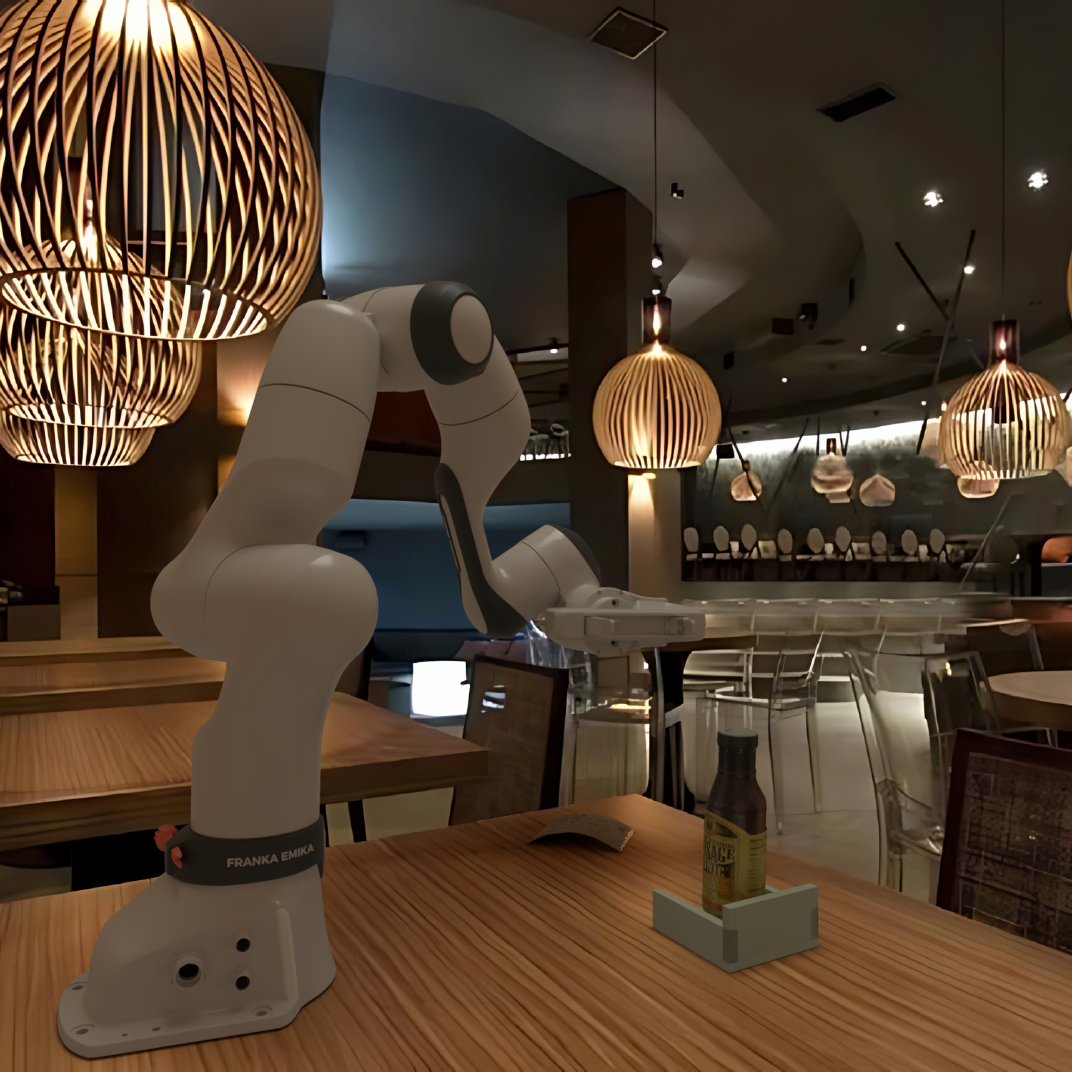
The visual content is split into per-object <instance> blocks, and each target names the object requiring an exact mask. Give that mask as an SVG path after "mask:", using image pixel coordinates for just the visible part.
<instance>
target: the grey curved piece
mask: <svg viewBox="0 0 1072 1072" xmlns="http://www.w3.org/2000/svg"><path fill="white" fill-rule="evenodd" d="M631 828H632V827H630V826H629V825H627V824H626V823H624V822H622V821H620V820H618V819H614V818H612V817H607V816H604V815H599V814H594V813H578V814H577V813H575V814H569V815H565V816H562V817H560V818H558V819H556V820H554V821H552V822H550V823H549V824H547V825H546V827H545V826H544V828H543V829H541V831H540V832H539V833H538V834H537V835H536V836H535V837H533V838H532V840H530V841H529V842H527V843H526V844H527V845H529V844H530V843H532V842H533V841H535V840H537V839H542V838H544V837H545V836H547V835H553V834H554V835H555V834H562V833H576V834H581V835H586V836H588V837H591V838H594V839H596V840H599V841H600V842H602V843H604V844H606V845H608V846H609V847H611V848H614V850H617V851H618V852H619V853H621V852H620V850H621V848H620V847H622V846H621V845H623V842H624V841H625V840H626V839H625V837H627V835H628V832H630V830H632V829H633V828H632V829H631Z"/></svg>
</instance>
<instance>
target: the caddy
mask: <svg viewBox="0 0 1072 1072" xmlns="http://www.w3.org/2000/svg"><path fill="white" fill-rule="evenodd" d="M652 928H653V929H654V930H657V931H658V932H659V933H662V934H663V935H665V936H666V937H668V938H669V939H671V940H673V941H675V942H677V943H679V944H680V945H682V946H683V947H686V948H687V949H689V950H690V951H692V952H693V953H695V954H697V955H699V956H700V957H702V958H703V959H705V960H706V961H709V962H711V963H712V964H713V965H714V966H715V965H716V966H717V967H719V968H720V969H722V970H724V971H725V972H727V973H729V974H732V973H735V972H738V971H742V970H746V969H748V968H751V967H755V966H758V965H761V964H762V965H763V964H764V963H769V962H771V961H774V960H778V959H781V958H785V957H788V956H790V955H795V954H797V953H801V952H805V951H808V950H810V949H814V948H817V947H819V886H818V885H815V884H813V883H806V884H801V885H798V886H794V887H789V888H786V889H779V888H776V887H775V886H774V887H773V886H772V885H769V884H767V883H765V895H762V896H758V897H754V898H750V899H746V900H742V901H738V902H734V903H730V904H726V905H722V920H720V919H718V918H716V917H714V916H712V915H711V914H709V913H707V912H705V911H703V908H702V906H700V907H697V906H695V905H693V904H691V903H690V902H687V901H685V900H684V899H681V898H680V897H678V896H676V895H674V894H672V893H670V892H668V891H666V890H665V889H662V888H657V889H656V888H655V889H652Z"/></svg>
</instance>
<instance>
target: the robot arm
mask: <svg viewBox="0 0 1072 1072" xmlns="http://www.w3.org/2000/svg"><path fill="white" fill-rule="evenodd" d="M492 319H493V317H492V316H491V313H490V311H489V309H488V307H487V304H486V303H485V302H484V300H483V299H482V298H481V297H480V296H479V295H478V294H477V293H476V292H475V291H474V289H472V288H471V287H470V286H468V285H467V284H466V283H462V282H458V281H457V282H456V281H451V280H450V281H449V280H433V281H429V282H427V283H425V284H424V283H423V284H409V285H398V286H383V287H379V288H373V289H372V290H369V291H364V292H362V293H358V294H356V295H352V296H342V297H338V298H337V299H334V300H333V299H315V300H314V299H313V300H310V301H308V302H305V303H302V304H300V305H299V306H298V307H296V308H295V309H294V310H292V312H291V314H290V315H289V316H288V318H287V320H286V321H285V323H284V325H283V327H282V329H281V330H280V332H279V335H278V336H277V338H276V340H275V342H274V344H273V346H272V349H271V351H270V353H269V355H268V358H267V360H266V363H265V366H264V368H263V371H262V374H261V377H260V380H259V382H258V385H257V388H256V391H255V395H254V397H253V398H254V399H253V402H252V405H251V409H250V411H249V415H248V418H247V421H246V424H245V428H244V430H243V433H242V436H241V440H240V443H239V447H238V449H237V452H236V456H235V458H234V461H233V463H232V466H231V467H230V468H231V469H230V470H229V474H228V475H227V477H226V478H225V481H224V483H223V485H222V487H221V488H220V490H219V492H218V494H217V496H216V498H215V499H214V501H213V503H212V504H211V507H210V508H209V509H208V511H207V513H206V515H205V517H204V518H203V520H202V522H201V523H200V524H199V526H198V527H197V529H196V532H195V533H194V534H193V536H192V537H191V539H190V540H189V542H188V543H187V545H186V546H185V548H184V549H183V550H182V551H181V552H180V553H179V554H178V555H177V556H176V557H175V558H174V559H173V560H171V561H170V562H169V563H168V564H167V565H166V566H165V567H163V569H161V571H160V572H159V574H158V575H157V577H156V579H155V582H154V584H153V587H152V589H151V593H150V604H149V605H150V613H151V616H152V619H153V620H152V621H153V622H154V625H155V626H156V628H157V631H159V633H160V634H161V635H162V636H163V637H164V638H165V639H166V640H167V641H169V643H171V644H173V645H175V646H176V647H178V648H179V649H182V650H183V651H185V652H186V653H189V654H190V655H192V656H195V657H196V658H200V659H202V660H206V661H213V662H214V661H216V662H222V663H223V662H224V663H225V672H224V677H223V682H222V686H221V690H220V693H219V696H218V699H217V702H216V705H215V707H214V709H213V711H212V713H211V715H210V717H209V719H207V720H206V721H204V722H203V724H201V726H200V727H199V728H198V729H197V731H196V733H195V735H194V737H193V740H192V745H191V779H190V780H191V782H190V784H191V785H190V786H191V791H190V793H191V795H190V822H189V823H188V824H187V825H185V826H184V827H182V828H180V830H178V828H176V826H175V825H174V824H170V823H168V824H166V823H165V824H162V825H161V826H159V827H158V830H156V831H155V833H154V834H155V835H154V836H153V838H154V842H155V843H156V846H157V849H158V850H160V851H161V852H164V870H165V872H164V873H162V874H161V875H160V876H159V877H157V878H156V879H155V880H154V881H152V882H151V883H150V884H149V885H148V886H146V888H144V889H143V890H142V891H141V892H139V893H138V894H136V896H134V897H133V898H132V899H131V900H130V901H128V902H127V903H126V904H125V905H123V906H122V907H121V908H120V909H119V910H117V911H116V912H115V913H113V915H111V916H110V917H109V918H108V919H107V921H106V922H105V923H104V924H103V926H102V928H101V930H100V932H99V935H98V937H97V940H96V942H95V946H94V948H93V952H92V955H91V961H90V965H89V968H88V970H87V971H84V972H82V973H79V974H78V975H77V976H75V978H73V979H72V980H71V981H70V982H69V983H68V984H67V986H65V988H64V990H63V991H62V993H61V996H60V999H59V1002H58V1010H57V1017H56V1018H57V1020H56V1025H57V1031H58V1035H59V1037H60V1040H61V1041H62V1042H63V1045H65V1047H67V1048H68V1050H70V1051H72V1052H73V1053H74V1054H77V1055H78V1056H81V1057H84V1058H88V1059H89V1058H101V1057H107V1056H113V1055H120V1054H125V1053H130V1052H131V1053H132V1052H138V1051H144V1050H145V1051H146V1050H150V1049H157V1048H164V1047H169V1046H175V1045H181V1044H182V1045H183V1044H188V1043H194V1042H200V1041H201V1042H202V1041H206V1040H207V1041H208V1040H212V1039H219V1038H225V1037H231V1036H238V1035H244V1034H250V1033H256V1032H263V1031H268V1030H276V1029H280V1028H283V1027H286V1026H287V1025H289V1024H290V1023H291V1022H292V1021H293V1020H294V1019H295V1018H296V1017H297V1015H298V1013H299V1012H300V1010H301V1009H302V1007H303V1006H304V1005H306V1004H308V1003H309V1002H310V1001H312V1000H313V999H315V998H316V997H317V996H320V994H322V993H324V991H325V990H326V989H327V988H328V987H329V986H330V985H331V983H332V982H333V981H334V980H335V979H334V978H335V977H336V973H337V966H336V963H335V959H334V956H333V953H332V949H331V948H332V947H331V945H330V940H329V936H328V931H327V925H326V924H327V923H326V919H325V910H324V909H325V908H324V902H323V892H322V890H323V889H322V878H323V876H324V869H325V868H324V867H325V862H326V840H327V839H326V829H325V818H324V815H323V814H321V813H320V804H321V803H320V800H321V767H322V766H321V763H322V748H323V747H322V745H323V737H324V736H323V734H324V729H325V724H326V723H325V722H326V719H327V715H328V711H329V708H330V705H331V701H332V699H333V696H334V693H335V690H336V689H337V686H338V683H339V682H340V678H341V677H342V675H343V673H344V672H345V670H346V669H347V667H348V666H349V664H350V663H351V662H352V661H354V659H356V658H357V657H358V656H359V655H360V654H361V653H362V652H363V651H364V649H366V647H367V646H368V644H369V643H370V641H371V639H372V637H373V635H374V633H375V630H376V627H377V623H378V619H379V618H378V617H379V597H378V592H377V588H376V585H375V582H374V579H373V578H372V576H371V574H370V573H369V571H368V570H367V568H365V566H364V565H363V564H362V563H361V562H359V561H358V560H357V559H355V558H353V557H351V556H349V555H346V554H343V553H340V552H338V551H336V550H332V549H328V548H325V547H322V546H317V545H314V544H313V542H314V541H315V539H316V538H317V536H318V535H319V533H320V532H322V530H323V528H324V527H325V526H326V525H327V524H328V522H330V521H331V520H332V519H333V518H334V517H335V516H337V515H338V514H339V513H341V511H342V510H343V509H344V508H345V507H346V506H347V504H348V503H349V502H350V500H351V497H352V495H353V493H354V489H355V486H356V482H357V478H358V475H359V470H360V466H361V462H362V459H363V454H364V450H365V446H366V444H367V443H366V442H367V438H368V435H369V432H370V427H371V424H372V419H373V415H374V410H375V405H376V399H377V395H378V392H379V393H381V392H383V393H385V392H387V393H388V392H392V393H393V392H396V393H397V392H398V393H409V392H415V391H421V390H424V394H425V395H426V399H427V401H428V404H429V406H430V407H429V408H430V409H431V411H432V414H433V416H434V418H435V420H436V423H437V425H438V430H439V433H440V439H441V440H440V441H441V454H440V460H439V464H438V465H437V468H436V469H435V471H434V473H433V478H434V479H433V480H434V488H435V494H436V495H435V496H436V500H437V502H438V507H439V512H440V515H441V518H442V523H443V526H444V527H443V528H444V530H445V533H446V538H447V541H448V544H449V548H450V552H451V556H452V558H453V559H452V561H453V562H454V567H455V571H456V574H457V579H458V587H459V594H460V595H459V596H460V599H461V603H462V606H463V610H464V612H465V614H466V617H467V618H468V620H469V621H470V623H471V625H473V627H474V628H475V629H476V630H477V631H478V633H480V634H481V635H483V636H484V637H489V638H492V639H493V638H494V639H513V638H514V637H515V636H516V635H517V634H518V633H520V632H521V631H522V630H523V629H524V628H526V627H527V626H528V625H529V623H530V622H532V621H533V625H534V626H536V627H537V626H538V627H539V628H540V630H541V631H542V632H543V634H544V636H545V637H546V638H548V639H550V640H551V641H552V642H554V643H555V644H557V645H559V646H561V647H563V648H566V649H569V650H574V651H582V652H585V653H587V654H588V653H589V654H592V655H597V656H600V657H601V656H602V657H615V656H619V655H621V654H623V653H624V654H626V653H629V652H632V651H635V650H642V649H643V650H644V649H648V648H650V649H651V648H659V647H666V646H667V645H668V644H669V643H683V642H698V641H701V640H702V641H703V640H704V639H705V636H706V631H707V630H706V628H707V622H706V621H707V617H706V613H705V611H703V609H700V608H695V607H691V606H687V605H683V604H680V603H679V604H678V603H673V602H668V601H669V600H668V599H667V598H666V597H659V596H651V595H650V596H647V595H642V594H636V593H633V592H629V591H626V590H621V589H619V588H616V587H603V586H602V578H601V577H602V575H601V569H600V565H599V564H598V563H599V562H598V561H597V558H596V556H595V554H594V553H593V551H592V549H591V548H590V546H589V545H588V544H587V542H586V541H585V539H584V538H583V537H581V535H579V534H578V533H576V532H575V531H573V530H571V529H569V528H567V527H564V526H561V525H557V524H553V523H547V524H546V523H545V524H543V525H542V526H541V527H540V528H538V529H536V530H535V531H533V532H532V533H530V534H529V535H527V536H526V537H524V538H523V539H521V540H520V541H518V543H516V544H515V545H513V546H512V547H510V548H509V549H507V550H506V551H504V552H503V553H501V554H500V555H499V556H498V557H495V558H494V559H493V560H492V556H491V552H490V549H489V543H488V540H487V536H486V532H485V528H484V522H483V521H484V520H483V517H484V511H485V508H486V506H487V504H488V502H489V499H490V498H491V496H492V495H493V493H494V491H495V490H496V488H497V487H498V485H499V484H500V483H501V481H503V479H504V478H505V476H506V475H507V474H508V472H509V471H511V469H512V468H513V467H514V466H515V465H516V463H517V462H518V461H519V459H520V458H521V456H522V455H523V453H524V451H525V450H526V446H527V444H528V442H529V437H530V434H531V430H532V423H531V415H530V410H529V406H528V402H527V400H526V398H525V395H524V391H523V389H522V386H521V384H520V382H519V379H518V377H517V375H516V373H515V370H514V368H513V366H512V364H511V362H510V360H509V358H508V356H507V354H506V352H505V350H504V348H503V346H502V345H501V343H500V341H499V340H498V338H497V336H496V335H495V332H494V330H495V328H494V323H493V320H492Z"/></svg>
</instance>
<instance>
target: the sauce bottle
mask: <svg viewBox="0 0 1072 1072" xmlns="http://www.w3.org/2000/svg"><path fill="white" fill-rule="evenodd" d="M716 735H717V736H716V743H717V746H718V757H717V758H718V763H717V769H716V770H717V771H716V774H715V778H714V780H713V782H712V786H711V789H710V791H709V795H708V797H707V800H706V803H705V805H704V809H703V810H704V812H703V818H704V819H703V842H702V843H703V844H702V845H703V846H702V847H703V849H702V851H703V852H702V884H701V885H702V887H701V888H702V889H701V891H702V892H701V907H702V908H703V911H705V912H707V913H709V914H711V915H712V916H714V917H716V918H718V919H720V920H722V905H726V904H730V903H734V902H738V901H742V900H746V899H750V898H754V897H758V896H762V895H765V884H766V882H767V881H766V879H767V878H766V876H767V875H766V874H767V844H768V843H767V840H768V837H767V835H768V827H767V811H768V810H767V809H768V808H767V807H768V806H767V799H766V796H765V794H764V791H763V790H762V789H761V787H760V785H759V782H758V780H757V769H756V762H757V749H758V746H759V733H758V732H757V731H756V730H753V729H750V728H743V727H733V726H732V727H729V726H727V727H723V728H719V729H718V730H717V734H716Z"/></svg>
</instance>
